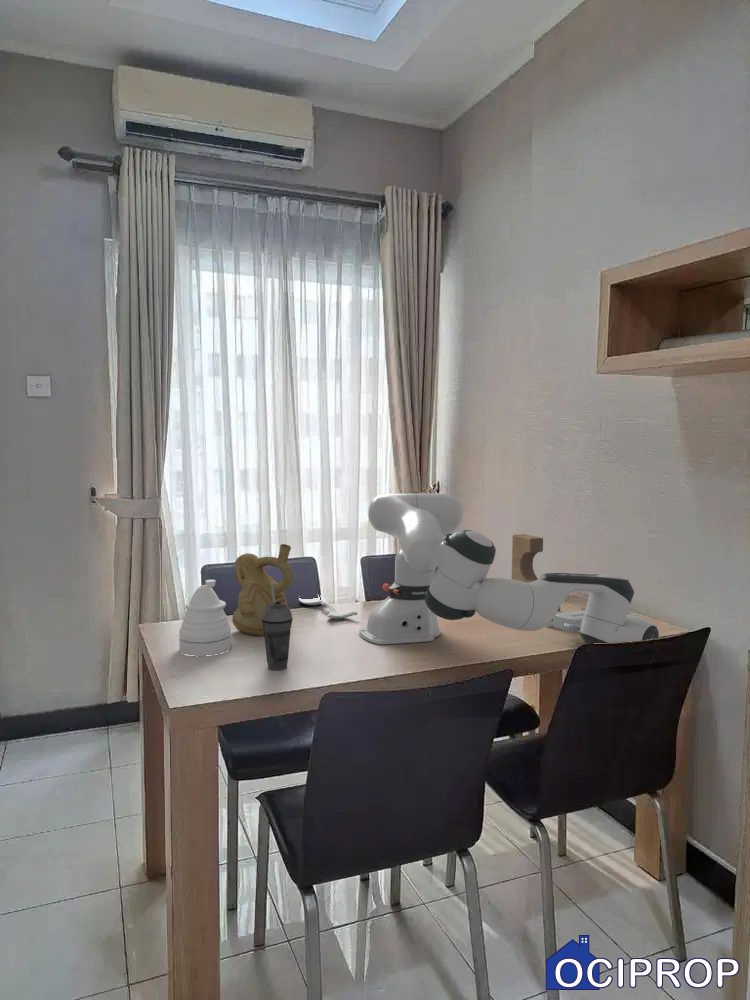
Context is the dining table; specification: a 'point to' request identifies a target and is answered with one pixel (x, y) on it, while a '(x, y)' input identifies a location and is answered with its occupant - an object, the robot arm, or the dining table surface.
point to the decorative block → (525, 556)
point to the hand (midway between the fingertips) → (569, 612)
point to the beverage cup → (277, 633)
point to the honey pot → (205, 624)
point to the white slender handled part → (323, 601)
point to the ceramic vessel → (259, 588)
